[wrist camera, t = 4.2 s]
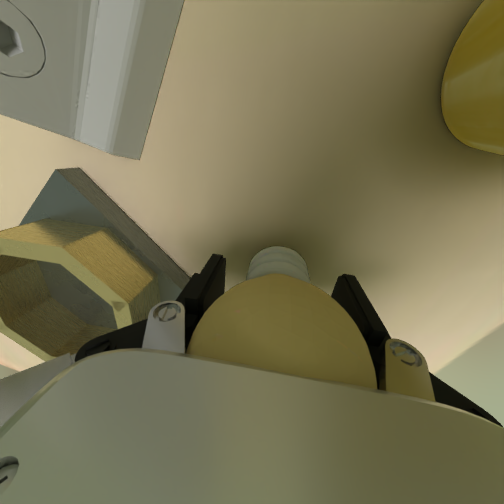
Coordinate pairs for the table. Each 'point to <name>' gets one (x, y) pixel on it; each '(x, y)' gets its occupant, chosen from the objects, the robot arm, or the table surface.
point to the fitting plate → (78, 269)
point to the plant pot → (477, 81)
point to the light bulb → (284, 325)
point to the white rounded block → (86, 67)
